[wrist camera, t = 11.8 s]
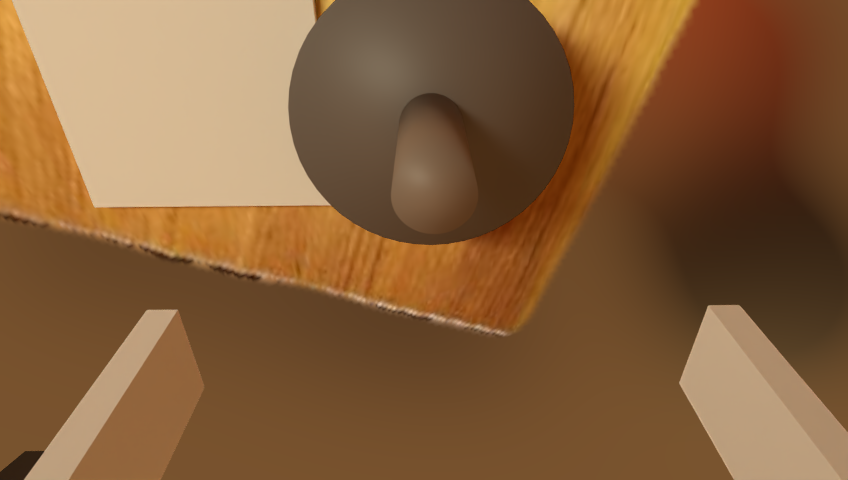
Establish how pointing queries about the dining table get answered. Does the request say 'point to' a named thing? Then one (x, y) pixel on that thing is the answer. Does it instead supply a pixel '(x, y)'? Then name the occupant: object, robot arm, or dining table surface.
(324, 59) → the lid
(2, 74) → the dining table surface
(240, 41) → the mat
